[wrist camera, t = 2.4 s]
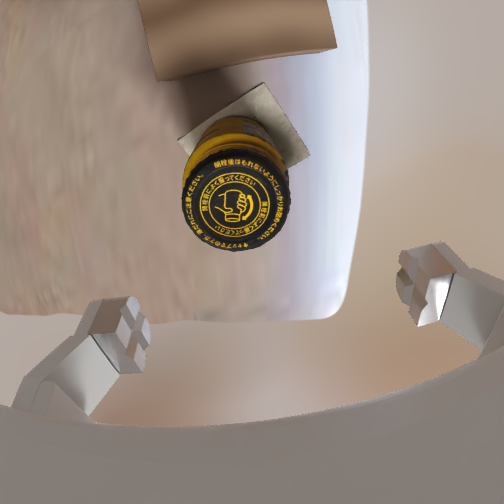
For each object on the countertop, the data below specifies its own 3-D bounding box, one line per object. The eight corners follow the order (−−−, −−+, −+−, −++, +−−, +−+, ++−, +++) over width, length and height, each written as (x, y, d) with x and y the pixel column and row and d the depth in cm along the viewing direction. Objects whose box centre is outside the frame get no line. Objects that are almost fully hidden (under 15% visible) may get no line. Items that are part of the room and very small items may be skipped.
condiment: (177, 140, 23) (134, 192, 13) (263, 83, 21) (292, 83, 11) (228, 204, 26) (226, 292, 16) (309, 154, 24) (364, 214, 14)
